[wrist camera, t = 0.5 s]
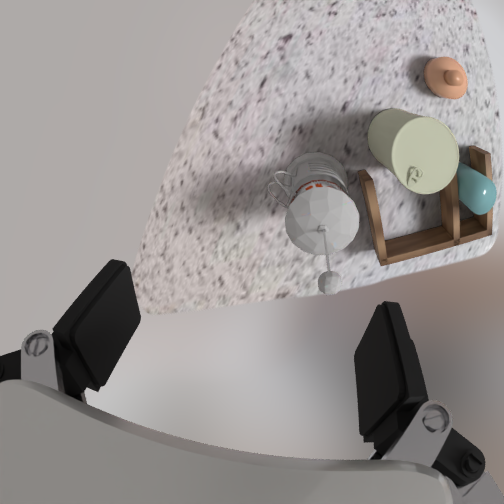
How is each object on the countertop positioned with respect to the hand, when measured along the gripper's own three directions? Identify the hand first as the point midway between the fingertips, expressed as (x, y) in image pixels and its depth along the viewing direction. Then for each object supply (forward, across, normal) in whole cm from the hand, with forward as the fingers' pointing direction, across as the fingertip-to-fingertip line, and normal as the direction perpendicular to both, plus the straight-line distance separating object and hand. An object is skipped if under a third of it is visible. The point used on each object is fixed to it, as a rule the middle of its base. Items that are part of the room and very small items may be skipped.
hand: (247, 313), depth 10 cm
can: (+34, -16, -4) cm, 38 cm away
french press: (+34, -4, +5) cm, 35 cm away
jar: (+34, -29, 0) cm, 45 cm away
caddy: (+34, -24, +4) cm, 42 cm away
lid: (+34, -22, -15) cm, 44 cm away
